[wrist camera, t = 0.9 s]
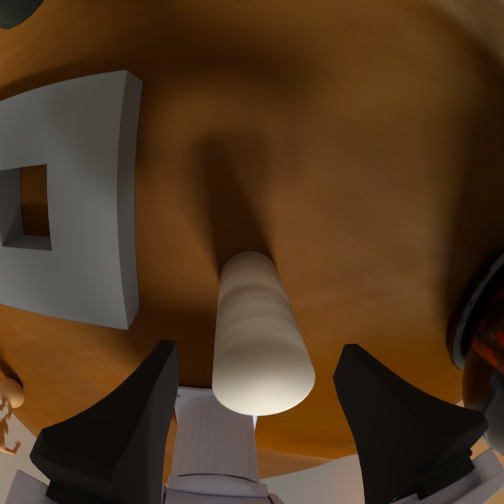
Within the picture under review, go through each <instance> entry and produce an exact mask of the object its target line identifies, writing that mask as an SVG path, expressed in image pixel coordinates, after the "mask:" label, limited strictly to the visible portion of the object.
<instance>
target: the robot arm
mask: <svg viewBox="0 0 504 504" xmlns="http://www.w3.org/2000/svg"><path fill="white" fill-rule="evenodd" d="M333 379H334V384H335V388H336V392H337V396H338V398H339V401H340V404H341V406H342V409H343V411H344V414H345V416H346V419H347V421H348V424H349V426H350V429H351V431H352V434H353V437H354V440H355V444H356V448H357V452H358V456H359V461H360V466H361V471H362V478H363V486H364V496H365V504H485V503H486V502H487V501H488V500H489V499H491V497H493V496H494V495H495V494H496V493H497V492H499V491H500V490H501V489H502V488H503V487H504V468H503V466H502V465H501V463H500V461H499V460H498V459H497V457H496V455H495V453H494V452H493V450H492V449H491V448H489V449H488V450H486V451H485V452H483V453H482V454H480V455H479V456H477V457H476V458H475V459H473V460H471V459H470V456H471V455H472V451H471V449H470V448H471V447H472V446H473V445H474V444H475V443H476V442H477V441H478V440H479V438H480V437H481V436H482V435H483V434H484V433H485V432H486V430H487V429H488V426H489V422H488V420H487V419H486V417H485V416H484V414H483V413H482V412H481V411H478V410H473V409H469V408H464V407H460V406H457V405H454V404H451V403H448V402H445V401H443V400H440V399H438V398H436V397H433V396H431V395H429V394H427V393H425V392H423V391H421V390H420V389H418V388H416V387H414V386H413V385H411V384H409V383H408V382H406V381H405V380H403V379H402V378H401V377H399V376H398V375H396V374H395V373H394V372H392V371H391V370H390V369H388V368H387V367H386V366H384V365H383V364H382V363H381V362H379V361H378V360H377V359H376V358H374V357H373V356H372V355H371V354H369V353H368V352H367V351H366V350H364V349H363V348H362V347H360V346H359V345H358V344H345V345H344V348H343V351H342V353H341V356H340V359H339V362H338V365H337V368H336V370H335V373H334V376H333ZM178 383H179V366H178V354H177V342H176V341H172V340H163V339H162V340H161V341H160V342H159V343H158V344H157V346H156V347H155V348H154V349H153V351H152V352H151V353H150V354H149V355H148V357H147V358H146V359H145V360H144V361H143V362H142V363H141V364H140V366H139V367H138V368H137V369H136V370H135V371H134V372H133V373H132V374H131V375H130V376H129V377H128V378H127V379H126V380H125V381H124V382H123V383H122V384H121V385H119V386H118V387H117V388H116V389H115V390H114V391H112V392H111V393H110V394H109V395H107V396H106V397H105V398H103V399H102V400H100V401H99V402H97V403H96V404H95V405H93V406H91V407H90V408H88V409H87V410H85V411H83V412H81V413H79V414H77V415H75V416H74V417H72V418H70V419H67V420H65V421H63V422H60V423H58V424H55V425H52V426H50V427H47V428H44V429H42V430H41V432H40V434H39V435H38V437H37V440H36V442H35V444H34V446H33V449H32V451H31V453H30V459H31V461H32V463H33V464H34V465H35V466H36V467H37V468H38V469H39V470H40V471H41V472H42V473H43V474H44V475H45V476H46V477H47V478H48V479H50V480H51V481H50V484H49V486H47V485H46V484H45V483H43V482H41V481H39V480H37V479H35V478H34V477H32V476H30V475H28V474H26V473H24V472H23V471H21V470H17V472H16V475H15V477H14V480H13V482H12V485H11V488H10V490H9V493H8V496H7V499H6V502H5V504H284V503H283V502H282V501H281V500H280V499H279V498H278V497H277V496H276V495H275V494H271V493H270V494H269V493H268V491H267V484H260V482H259V472H258V462H257V452H256V442H255V432H254V430H255V425H256V420H257V415H246V414H241V413H238V412H235V411H233V410H230V409H229V408H227V407H225V406H224V405H223V404H221V403H220V402H219V401H218V399H217V398H216V396H215V395H214V392H213V389H205V388H192V387H182V386H178ZM174 407H175V413H176V418H177V424H178V425H177V432H176V439H175V446H174V453H173V461H172V469H171V476H169V477H168V485H167V489H166V485H163V484H162V476H163V463H164V453H165V444H166V439H167V434H168V430H169V426H170V422H171V418H172V414H173V410H174Z"/></svg>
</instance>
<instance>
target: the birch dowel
mask: <svg viewBox="0 0 504 504" xmlns="http://www.w3.org/2000/svg"><path fill="white" fill-rule="evenodd" d="M314 381H315V372H314V369H313V366H312V364H311V361H310V358H309V355H308V352H307V350H306V347H305V344H304V341H303V339H302V336H301V333H300V331H299V328H298V325H297V322H296V320H295V317H294V314H293V312H292V309H291V306H290V304H289V301H288V298H287V296H286V293H285V290H284V288H283V285H282V282H281V280H280V277H279V274H278V272H277V269H276V267H275V265H274V263H273V262H272V261H271V260H270V259H269V258H268V257H267V256H265V255H263V254H261V253H258V252H252V251H247V252H242V253H238V254H236V255H234V256H233V257H231V258H230V259H229V260H228V261H227V262H226V263H225V264H224V266H223V268H222V270H221V274H220V284H219V296H218V308H217V320H216V333H215V347H214V362H213V378H212V389H213V392H214V395H215V396H216V398H217V399H218V401H219V402H220V403H221V404H223V405H224V406H225V407H227V408H229V409H230V410H233V411H235V412H238V413H241V414H246V415H257V416H260V415H271V414H275V413H279V412H282V411H285V410H288V409H290V408H292V407H294V406H295V405H297V404H298V403H300V402H301V401H302V400H303V399H304V398H305V397H306V396H307V395H308V394H309V393H310V391H311V389H312V387H313V385H314Z"/></svg>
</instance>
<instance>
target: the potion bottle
mask: <svg viewBox="0 0 504 504" xmlns="http://www.w3.org/2000/svg"><path fill="white" fill-rule="evenodd" d="M42 2H43V0H0V28H2V29H11V28H13V27H15V26H17V25H19V24H21V23H22V22H23V21H25V20H26V19H27V18H28V17H29V16H31V15H32V13H33V12H34V11H35V10H36V9H37V8H38V7H39V6H40V5H41V3H42Z"/></svg>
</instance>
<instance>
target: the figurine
mask: <svg viewBox="0 0 504 504" xmlns="http://www.w3.org/2000/svg"><path fill="white" fill-rule="evenodd" d="M0 398H1V399H2V405H0V411H1V410H3V408H4V407H5V404H6V405H7V407H8V411H9V413H8V414H6V415H5V417H4V418H3V419H2V420H1V421H0V451H3V452H6V453H9V454H13V455H15V454H16V452H17V450H18V448H19V447H20V444H19V443H18V441H17V444H16V443H15V444H16V445H17V446H15V448H14V449H13V451H12V450H10V449H8V448H6V447H5V439H4V435H7V434H8V426H7V423H6V420H9V419H10V417H11V414H12V407H13V408H16V407H19V406H21V405H22V403H23V401H24V392H23V389H22V387H21V385H20V384H19V383H18V382H17V381H16V380H14V379H11V378H5V379H3V380H2V381H1V382H0Z"/></svg>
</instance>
